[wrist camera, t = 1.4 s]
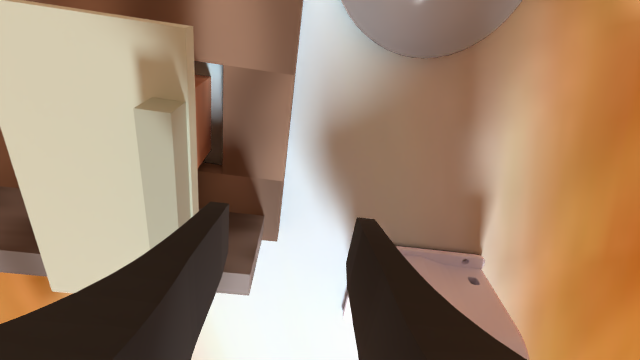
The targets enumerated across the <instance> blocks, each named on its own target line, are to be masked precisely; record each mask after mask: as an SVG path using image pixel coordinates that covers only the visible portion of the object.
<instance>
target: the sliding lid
mask: <svg viewBox="0 0 640 360" xmlns="http://www.w3.org/2000/svg"><path fill="white" fill-rule="evenodd" d="M0 127H1V131H2V134H3V137H4V140H5V143H6V146H7V150H8V153H9V156H10V159H11V162H12V165H13V169H14V172H15V175H16V178H17V181H18V185H19V188H20V191H21V194H22V197H23V200H24V204H25V207H26V210H27V213H28V216H29V219H30V223H31V226H32V229H33V232H34V235H35V239H36V242H37V245H38V248H39V251H40V254H41V258H42V261H43V264H44V267H45V270H46V273H47V277H48V280H49V283H50V286H51V289H52V291H54V292H65V293H76V292H78V291H80V290H81V289H83V288H85V287H87V286H89V285H91V284H93V283H95V282H97V281H99V280H101V279H103V278H105V277H107V276H109V275H110V274H112V273H114V272H116V271H117V270H119V269H121V268H122V267H124V266H126V265H128V264H129V263H131V262H133V261H134V260H136V259H137V258H139V257H140V256H142V255H143V254H145V253H146V252H148V251H149V250H150V249H152V248H153V247H154V246H156V245H157V244H159V243H160V242H161V241H163V240H164V239H166V238H167V237H168V236H169V235H171V234H172V233H173V232H174V231H176V230H177V229H178V228H179V227H181V226H182V225H183V224H184V223H186V222H187V221H188V220H189V219H190V218H191V217H193V216H194V215H195V214H196V213H197V212H198V211H199V202H198V169H197V135H196V101H195V68H194V34H193V26H188V25H181V24H175V23H168V22H162V21H155V20H149V19H142V18H136V17H129V16H123V15H116V14H109V13H103V12H96V11H90V10H83V9H77V8H70V7H64V6H57V5H51V4H44V3H37V2H31V1H24V0H0Z"/></svg>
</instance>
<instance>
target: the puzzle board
mask: <svg viewBox="0 0 640 360" xmlns="http://www.w3.org/2000/svg"><path fill="white" fill-rule="evenodd" d="M24 1H31V2H37V3H44V4H51V5H57V6H64V7H70V8H77V9H83V10H90V11H96V12H103V13H109V14H116V15H123V16H129V17H136V18H142V19H149V20H155V21H162V22H168V23H175V24H181V25H188V26H193V34H194V61H200V62H207V63H214V64H221V65H223V165H218V164H210V163H201V165H200V166H199V168H198V202H199V211H200V210H201V209H202V208H203V207H204V206H205V205H207V204H208V203H209V202H220V203H229V240H228V254H227V258H226V262H225V266H224V270H223V274H222V278H221V280H220V283H219V286H218V288H217V291H216V292H217V293H228V294H238V295H249V293H250V289H251V284H252V280H253V275H254V271H255V267H256V262H257V258H258V253H259V249H260V245H261V240H268V241H277V238H278V232H279V223H280V214H281V204H282V195H283V186H284V176H285V167H286V157H287V148H288V139H289V129H290V120H291V110H292V101H293V92H294V82H295V73H296V63H297V54H298V45H299V35H300V26H301V16H302V7H303V0H24ZM0 272H5V273H15V274H26V275H37V276H47V273H46V270H45V267H44V264H43V261H42V258H41V254H40V251H39V248H38V245H37V242H36V239H35V235H34V232H33V229H32V226H31V223H30V219H29V216H28V213H27V210H26V207H25V204H24V200H23V197H22V194H21V191H20V188H19V185H18V181H17V178H16V175H15V172H14V169H13V165H12V162H11V159H10V156H9V153H8V150H7V146H6V143H5V140H4V137H3V134H2V131H1V127H0Z"/></svg>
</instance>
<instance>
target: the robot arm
mask: <svg viewBox="0 0 640 360" xmlns="http://www.w3.org/2000/svg"><path fill="white" fill-rule="evenodd" d="M228 240H229V203H220V202H209V203H208V204H207V205H205V206H204V207H203V208H202V209H201V210H200V211H198V212H197V213H196V214H195V215H194V216H193V217H191V218H190V219H189V220H188V221H187V222H186V223H184V224H183V225H182V226H181V227H179V228H178V229H177V230H176V231H174V232H173V233H172V234H171V235H169V236H168V237H167V238H166V239H164V240H163V241H161V242H160V243H159V244H157V245H156V246H154V247H153V248H152V249H150V250H149V251H148V252H146V253H145V254H143V255H142V256H140V257H139V258H137V259H136V260H134V261H133V262H131V263H129V264H128V265H126V266H124V267H122V268H121V269H119V270H117V271H116V272H114V273H112V274H110V275H109V276H107V277H105V278H103V279H101V280H99V281H97V282H95V283H93V284H91V285H89V286H87V287H85V288H83V289H81V290H80V291H78V292H76V293H74V294H71V295H69V296H67V297H65V298H63V299H60V300H58V301H56V302H54V303H52V304H49V305H47V306H45V307H42V308H40V309H38V310H35V311H33V312H31V313H28V314H26V315H23V316H21V317H18V318H16V319H13V320H10V321H8V322H5V323H2V324H0V360H191V357H192V354H193V351H194V348H195V345H196V342H197V339H198V337H199V334H200V332H201V329H202V326H203V324H204V321H205V319H206V316H207V314H208V311H209V309H210V306H211V304H212V301H213V299H214V296H215V293H216V291H217V288H218V286H219V283H220V280H221V278H222V274H223V270H224V266H225V262H226V258H227V254H228ZM464 259H466V260H465V261H463V260H464ZM484 263H485V260H484V258H483V257H482V256H481V255H475V254H466V253H457V252H447V251H438V250H429V249H420V248H411V247H402V246H395V245H394V244H393V243H392V241H391V240H390V239H389V237H388V236H387V235H386V234H385V232H384V231H383V230H382V228H381V227H380V226H379V225H378V223H377V222H376V221H375V220H374V219H366V218H357V219H356V224H355V228H354V232H353V236H352V240H351V245H350V249H349V253H348V257H347V261H346V272H347V290H348V295H347V299H346V303H345V307H344V310H343V318H344V320H346V321H353V326H354V332H355V338H356V344H357V350H358V357H359V360H529V356H528V352H527V349H526V346H525V343H524V340H523V338H522V336H521V334H520V332H519V330H518V328H517V327H516V325H515V324H514V322H513V320H512V319H511V317H510V315H509V314H508V312H507V311H506V309H505V307H504V306H503V304H502V302H501V301H500V299H499V298H498V296H497V294H496V293H495V291H494V289H493V288H492V286H491V284H490V283H489V281H488V280H487V278H486V276H485V275H484V273H483V271H482V270H481V269H482V267H483V265H484Z"/></svg>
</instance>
